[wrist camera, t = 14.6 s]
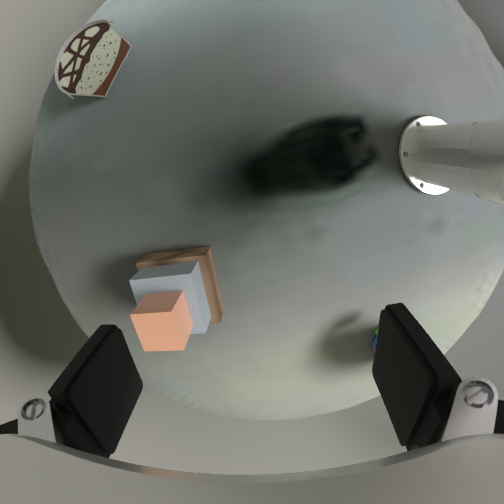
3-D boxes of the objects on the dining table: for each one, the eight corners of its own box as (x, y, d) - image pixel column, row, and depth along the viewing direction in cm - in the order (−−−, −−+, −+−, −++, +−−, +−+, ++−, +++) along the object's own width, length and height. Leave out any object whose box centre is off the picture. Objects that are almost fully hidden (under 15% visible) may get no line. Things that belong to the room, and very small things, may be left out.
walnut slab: (211, 245, 44) (205, 254, 40) (223, 308, 47) (219, 322, 43) (146, 253, 45) (135, 263, 40) (162, 312, 48) (154, 326, 44)
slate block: (198, 261, 40) (190, 273, 36) (211, 316, 43) (205, 333, 38) (141, 268, 41) (129, 280, 36) (157, 320, 43) (147, 335, 39)
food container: (109, 32, 32) (79, 12, 23) (137, 39, 33) (108, 16, 23) (76, 96, 36) (39, 89, 26) (101, 105, 37) (65, 97, 27)
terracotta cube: (183, 290, 36) (171, 311, 31) (193, 326, 38) (183, 350, 33) (145, 294, 37) (130, 314, 32) (157, 328, 39) (144, 351, 33)
